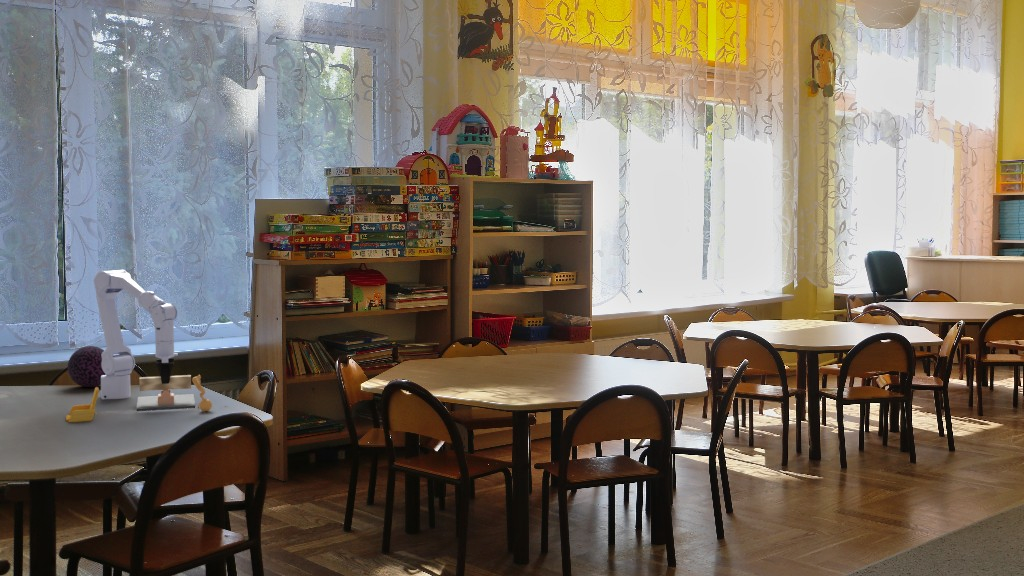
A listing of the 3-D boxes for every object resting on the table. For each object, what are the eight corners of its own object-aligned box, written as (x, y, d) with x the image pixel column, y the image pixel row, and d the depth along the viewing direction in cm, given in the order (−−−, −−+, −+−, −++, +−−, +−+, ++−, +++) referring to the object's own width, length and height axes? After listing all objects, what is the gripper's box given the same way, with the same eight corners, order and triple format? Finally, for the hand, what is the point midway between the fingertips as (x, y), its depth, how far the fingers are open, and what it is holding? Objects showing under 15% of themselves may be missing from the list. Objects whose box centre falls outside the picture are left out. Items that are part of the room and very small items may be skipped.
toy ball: (102, 390, 364) (101, 349, 363) (60, 390, 364) (59, 348, 363) (119, 383, 379) (118, 343, 378) (79, 383, 379) (78, 343, 378)
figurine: (215, 413, 324) (214, 375, 324) (195, 414, 321) (195, 377, 321) (208, 408, 332) (208, 372, 331) (189, 410, 329) (189, 373, 328)
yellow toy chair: (66, 416, 319) (65, 387, 318) (99, 414, 323) (98, 385, 322) (65, 423, 309) (65, 393, 309) (99, 420, 313) (98, 391, 312)
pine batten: (139, 391, 332) (139, 378, 332) (139, 389, 335) (139, 377, 334) (191, 388, 337) (191, 376, 337) (191, 386, 340) (190, 375, 340)
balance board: (136, 411, 327) (136, 394, 326) (138, 400, 346) (137, 384, 345) (195, 408, 333) (194, 391, 332) (193, 397, 351) (193, 381, 351)
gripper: (177, 342, 329) (178, 384, 330) (177, 337, 343) (178, 377, 344) (154, 343, 327) (155, 385, 328) (155, 338, 340) (155, 378, 342)
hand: (165, 381), depth 336 cm, fingers open, 7 cm apart
